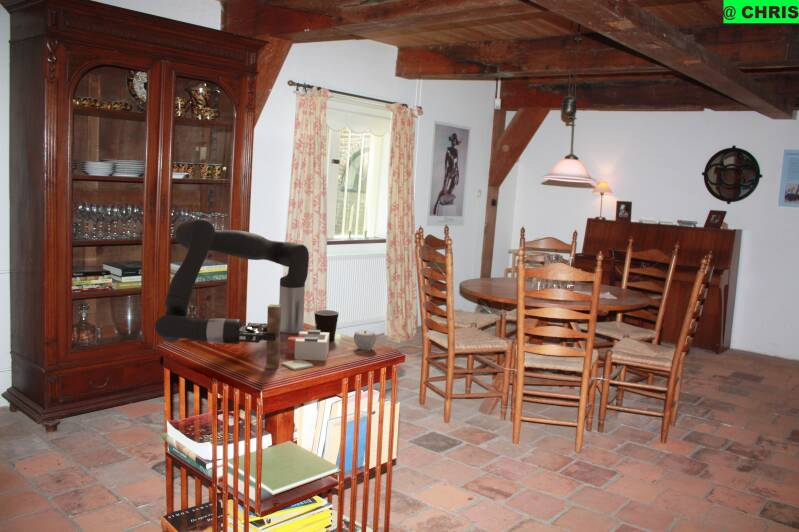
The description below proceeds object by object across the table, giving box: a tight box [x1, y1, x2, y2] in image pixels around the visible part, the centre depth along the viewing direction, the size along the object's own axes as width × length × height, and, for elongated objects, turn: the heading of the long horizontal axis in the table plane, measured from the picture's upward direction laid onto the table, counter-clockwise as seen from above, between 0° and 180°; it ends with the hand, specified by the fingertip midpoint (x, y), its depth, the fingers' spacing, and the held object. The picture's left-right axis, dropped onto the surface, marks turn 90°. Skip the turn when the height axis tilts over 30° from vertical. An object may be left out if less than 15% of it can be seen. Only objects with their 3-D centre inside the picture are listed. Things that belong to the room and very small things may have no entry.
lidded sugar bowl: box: [353, 330, 377, 351], centre depth 224 cm, size 8×8×7 cm
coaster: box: [281, 359, 314, 371], centre depth 202 cm, size 7×7×1 cm
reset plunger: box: [286, 336, 305, 351], centre depth 214 cm, size 6×4×4 cm, turn 92°
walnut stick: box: [265, 304, 281, 369], centre depth 198 cm, size 4×4×19 cm
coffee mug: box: [314, 309, 339, 343], centre depth 235 cm, size 12×9×10 cm
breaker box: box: [294, 329, 330, 361], centre depth 214 cm, size 10×13×7 cm
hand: (278, 333), depth 198 cm, fingers open, 8 cm apart
